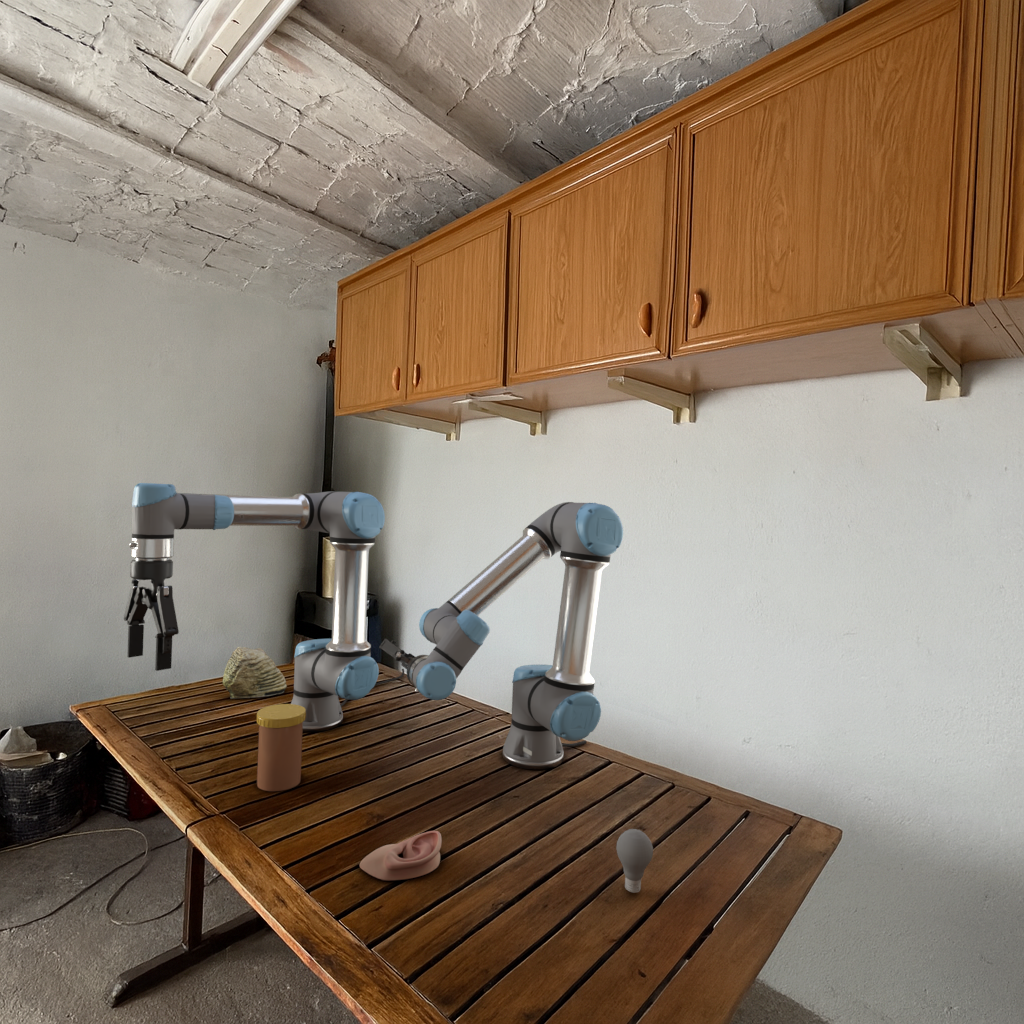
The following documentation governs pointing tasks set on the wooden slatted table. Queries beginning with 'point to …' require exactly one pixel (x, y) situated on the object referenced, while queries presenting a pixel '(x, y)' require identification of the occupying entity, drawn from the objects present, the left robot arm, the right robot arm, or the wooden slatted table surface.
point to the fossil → (252, 674)
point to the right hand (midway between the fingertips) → (411, 663)
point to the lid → (281, 715)
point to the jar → (279, 757)
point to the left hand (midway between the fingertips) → (148, 662)
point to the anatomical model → (405, 858)
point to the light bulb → (634, 857)
